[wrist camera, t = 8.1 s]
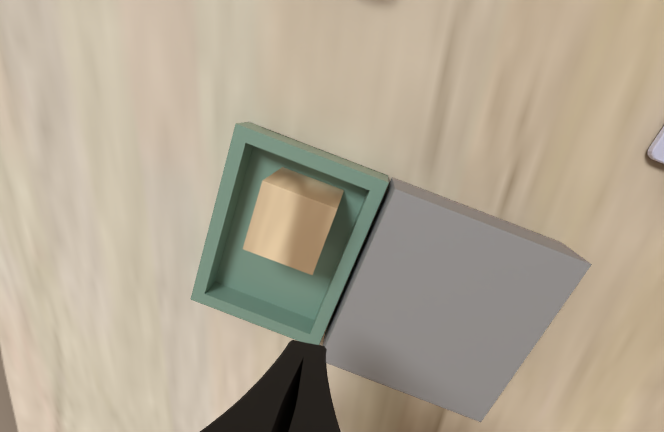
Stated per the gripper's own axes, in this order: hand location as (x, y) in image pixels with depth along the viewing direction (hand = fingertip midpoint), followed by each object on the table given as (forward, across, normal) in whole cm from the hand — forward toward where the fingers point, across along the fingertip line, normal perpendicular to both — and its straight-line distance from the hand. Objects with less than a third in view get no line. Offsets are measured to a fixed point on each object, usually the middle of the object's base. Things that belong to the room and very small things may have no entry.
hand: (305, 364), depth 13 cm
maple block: (+8, 0, -2) cm, 8 cm away
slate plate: (+10, -7, +2) cm, 13 cm away
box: (+10, +3, -1) cm, 11 cm away
